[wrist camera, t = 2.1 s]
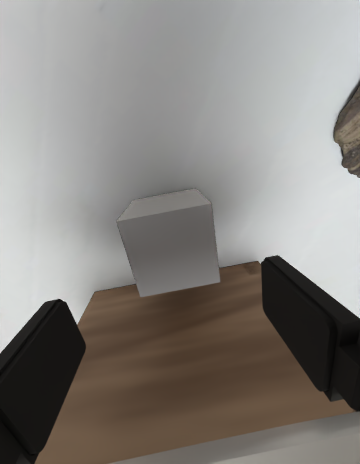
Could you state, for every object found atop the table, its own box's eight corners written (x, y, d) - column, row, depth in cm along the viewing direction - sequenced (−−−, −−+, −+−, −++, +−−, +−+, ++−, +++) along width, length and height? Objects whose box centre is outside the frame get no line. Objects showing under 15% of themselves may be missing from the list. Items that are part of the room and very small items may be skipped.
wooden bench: (94, 292, 19) (-25, 516, 7) (257, 260, 19) (411, 432, 7) (140, 398, 26) (118, 604, 14) (260, 375, 26) (341, 561, 14)
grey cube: (133, 199, 16) (116, 221, 11) (195, 188, 16) (211, 203, 11) (148, 255, 18) (140, 297, 13) (203, 244, 18) (220, 282, 13)
